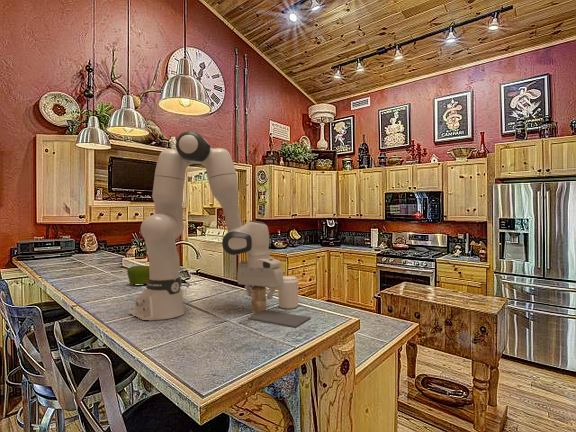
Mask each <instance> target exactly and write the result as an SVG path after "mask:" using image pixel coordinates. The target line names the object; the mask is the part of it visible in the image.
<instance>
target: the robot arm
mask: <svg viewBox="0 0 576 432" xmlns="http://www.w3.org/2000/svg"><path fill="white" fill-rule="evenodd" d="M202 165H203V166H204V169H205V172H206V175H207V181H208V185H209V189H210V190H211V193H212V195H213V197H214V198H215V199H216V201H217V202H218V203H219V205H220V206H221V208H222V211H223V214H224V218H225V223H226V226H227V227H226V228H227V232H226V234H224V235H223V237H222V240H221V246H222V248H223V250H224V251H225V252H226V253H227V254H229V255H232V256H238V255H241V254H244V253H246V256H247V257H246V258H247V261H244V260H241V261H240V262H239V263H238V264H237V275H236V282H237V284H238V285H243V286H244V289H245V290H246V293H247V294H246V295H247V297H251V287H253V286H261V287H266V288H268V290H269V293H266V300H267V299H269V300H271V299H273V298H274V297H273V294H274V293H275V290H276V289H278V288H280V287H282V285H283V276H284V273H283V270H282V268H281V266H282V262H281V260H278V259H276V258H274V257H273V256H271V253H270V252H271V251H270V250H269V247H270V233H269V227H268V225H267V224H266V223H264V221H257V220H248V221H247V222H246V223H245V224H243V222H242V217H241V213H240V208H239V183H238V175H237V171H236V167H235V163H234V161H233V158H232V156H231V153H230V152H229V151H228V150H227V149H226V148H222V147H215V148H212V147H211V145H210V143H209V142H208V141H207V139H206V138H205V137H203V136H202V134H200V133H198V132H196V131H190V130H189V131H184V132H182V133H180V134H179V135H178V136H177V138H176V140H175V148H174V149H173V148H167V149H164V150H162V151H161V152H160V153H159V156H158V159H157V161H156V165H155V166H156V167H155V172H154V180H153V187H152V200H153V203H154V213H153V214H151V215H149V216H148V217H146V218H144V220H143V221H142V223H141V225H140V234H141V236H142V238H143V239H144V244H145V246H146V247H145V248H146V251H147V256H148V266H149V276H150V278H149V279H148V280H145V281H148V282H145V283H147V285H146V286H145V289H144V290H143V291H142V292H141V293H140V294H139V295H138V296H136V298H135V300H134V301H135V302H134V308H132V309H130V310H129V311H127V314H128V313H130V314H132V315H135V316H136V317H138V318H137V319H139V318H140V319H139V320H141V319H142V321H143V320H149V321H155V320H156V321H157V320H160V321H161V320H167V319H168V320H169V319H172V318H173V319H174V318H177V317H180V316H182V315H184V314H185V313H186V306H185V305H184V297H183V295H184V294H183V289H182V288H181V286H182V277H181V276H180V275H181V270H180V269H181V267H180V255H179V252H178V249H177V245H176V239H179V237H180V236H181V235H182V234H183V232H184V230H185V225H184V209H183V199H184V198H183V197H184V189H185V187H184V186H185V180H186V179H185V177H186V173H187V172H186V170H187V168H189V167H190V168H191V167H197V166H202ZM130 314H129V315H130ZM132 315H131V316H132ZM136 317H135V318H136Z"/></svg>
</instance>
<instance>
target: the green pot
mask: <svg viewBox="0 0 576 432" xmlns="http://www.w3.org/2000/svg"><path fill="white" fill-rule="evenodd" d="M126 274H127V277H128V282H129V284H131V285H133V284H147V283H145V282H148V281H145V280H148V279H149V278H150V276H149V265H134V266H130V267H129V268H128V269H127V272H126Z"/></svg>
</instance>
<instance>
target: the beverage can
mask: <svg viewBox="0 0 576 432" xmlns="http://www.w3.org/2000/svg"><path fill="white" fill-rule="evenodd" d="M277 290H278V293H277V295H278V307H280V308H281V309H285V310H292V309H295V308H297V307H299V281H298V278H297V276H293V275H287V276H286V275H283V285H282V287H280V288H277Z"/></svg>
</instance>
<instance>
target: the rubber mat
mask: <svg viewBox="0 0 576 432" xmlns="http://www.w3.org/2000/svg"><path fill="white" fill-rule="evenodd" d="M247 320H250V321H251V320H252V321H255V322H261V323H268V324H272V325H278V326H283V327H289V328H294V329H296V328H298V327H301V326H302V325H303V324H305V323H306V322H308V321H309V320H311V317H310V316H307V315H306V316H305V315H300V314H299V315H298V314H293V313H285V312H280V311H275V310H267V309H266V310H264V311H262V312H260V313H254V314H253V315H251V316H249V317H247Z"/></svg>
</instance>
